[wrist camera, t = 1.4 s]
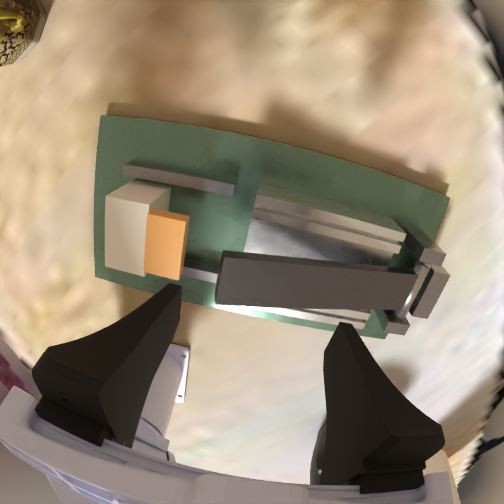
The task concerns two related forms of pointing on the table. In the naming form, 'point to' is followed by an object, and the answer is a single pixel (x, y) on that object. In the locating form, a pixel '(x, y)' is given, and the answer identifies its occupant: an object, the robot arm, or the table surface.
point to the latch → (144, 231)
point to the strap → (315, 283)
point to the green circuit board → (271, 213)
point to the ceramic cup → (19, 28)
